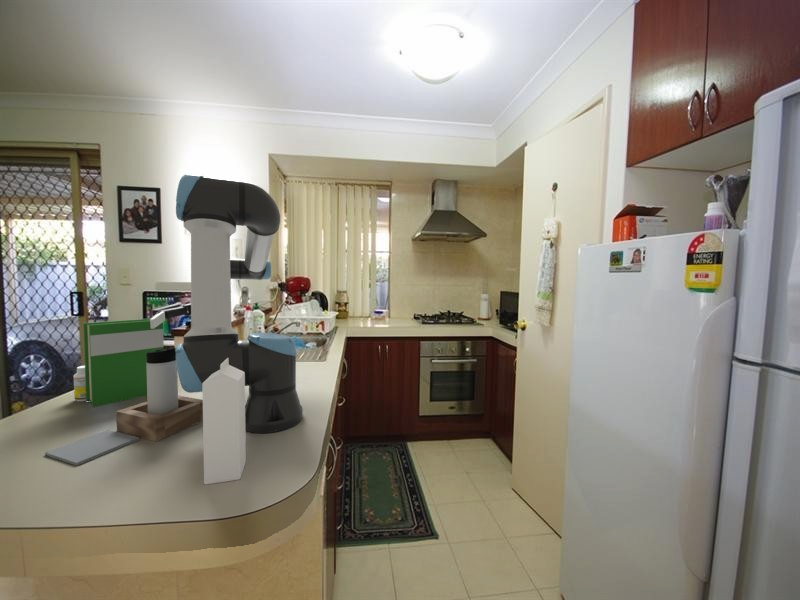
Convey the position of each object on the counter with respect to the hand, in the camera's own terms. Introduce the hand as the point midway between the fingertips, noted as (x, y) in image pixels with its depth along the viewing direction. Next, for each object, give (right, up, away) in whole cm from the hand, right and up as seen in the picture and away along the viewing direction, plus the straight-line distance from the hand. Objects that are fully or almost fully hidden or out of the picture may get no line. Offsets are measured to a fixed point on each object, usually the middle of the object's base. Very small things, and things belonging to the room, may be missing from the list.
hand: (180, 325), depth 87 cm
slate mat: (-7, -26, -18) cm, 32 cm away
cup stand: (0, -25, -7) cm, 26 cm away
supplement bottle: (-36, -24, +10) cm, 44 cm away
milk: (+27, -27, -27) cm, 47 cm away
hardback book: (-26, -24, +13) cm, 38 cm away
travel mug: (0, -25, -7) cm, 26 cm away
